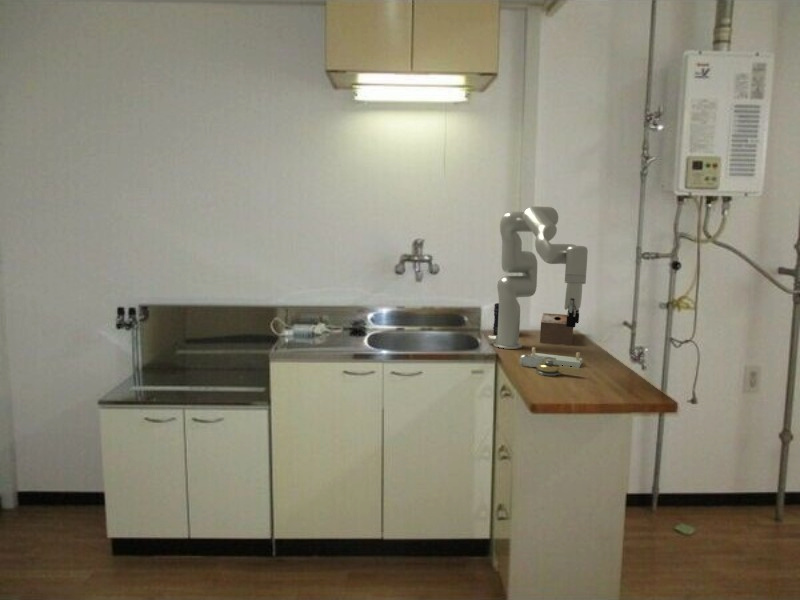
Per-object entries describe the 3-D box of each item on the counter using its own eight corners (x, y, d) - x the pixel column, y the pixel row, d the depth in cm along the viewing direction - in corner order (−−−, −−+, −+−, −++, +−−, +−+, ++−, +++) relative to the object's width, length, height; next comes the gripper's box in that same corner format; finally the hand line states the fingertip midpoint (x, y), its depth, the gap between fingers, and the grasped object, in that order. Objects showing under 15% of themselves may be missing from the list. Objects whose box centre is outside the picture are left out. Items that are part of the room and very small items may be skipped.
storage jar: (514, 337, 295) (516, 306, 292) (494, 336, 295) (495, 306, 293) (511, 332, 305) (513, 303, 302) (491, 332, 305) (493, 302, 302)
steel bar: (554, 370, 236) (555, 360, 235) (518, 365, 241) (519, 356, 240) (556, 367, 239) (557, 357, 239) (520, 363, 245) (521, 353, 244)
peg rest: (528, 361, 248) (528, 349, 247) (532, 357, 255) (532, 345, 254) (579, 367, 240) (580, 355, 239) (581, 363, 247) (582, 350, 247)
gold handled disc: (535, 371, 229) (536, 362, 228) (539, 366, 236) (540, 357, 236) (577, 376, 223) (577, 367, 223) (580, 371, 230) (580, 362, 230)
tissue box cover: (542, 332, 308) (543, 313, 306) (572, 334, 304) (573, 315, 303) (539, 343, 283) (540, 322, 282) (572, 345, 280) (573, 324, 278)
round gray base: (534, 374, 229) (534, 372, 229) (538, 368, 237) (538, 366, 237) (558, 377, 225) (558, 375, 225) (562, 371, 234) (562, 369, 233)
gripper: (568, 276, 237) (565, 320, 240) (561, 280, 221) (558, 327, 224) (588, 277, 234) (585, 322, 237) (582, 282, 218) (579, 329, 221)
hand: (572, 324), depth 230 cm, fingers open, 8 cm apart
